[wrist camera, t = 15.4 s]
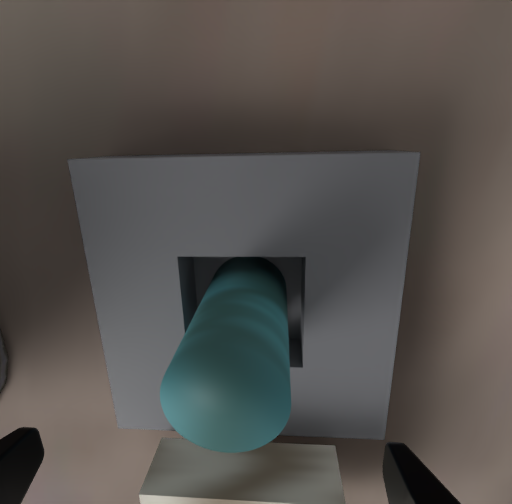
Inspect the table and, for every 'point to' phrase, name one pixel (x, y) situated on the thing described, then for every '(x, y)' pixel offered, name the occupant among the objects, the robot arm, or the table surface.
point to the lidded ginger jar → (3, 363)
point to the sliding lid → (243, 475)
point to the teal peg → (233, 362)
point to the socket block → (253, 245)
